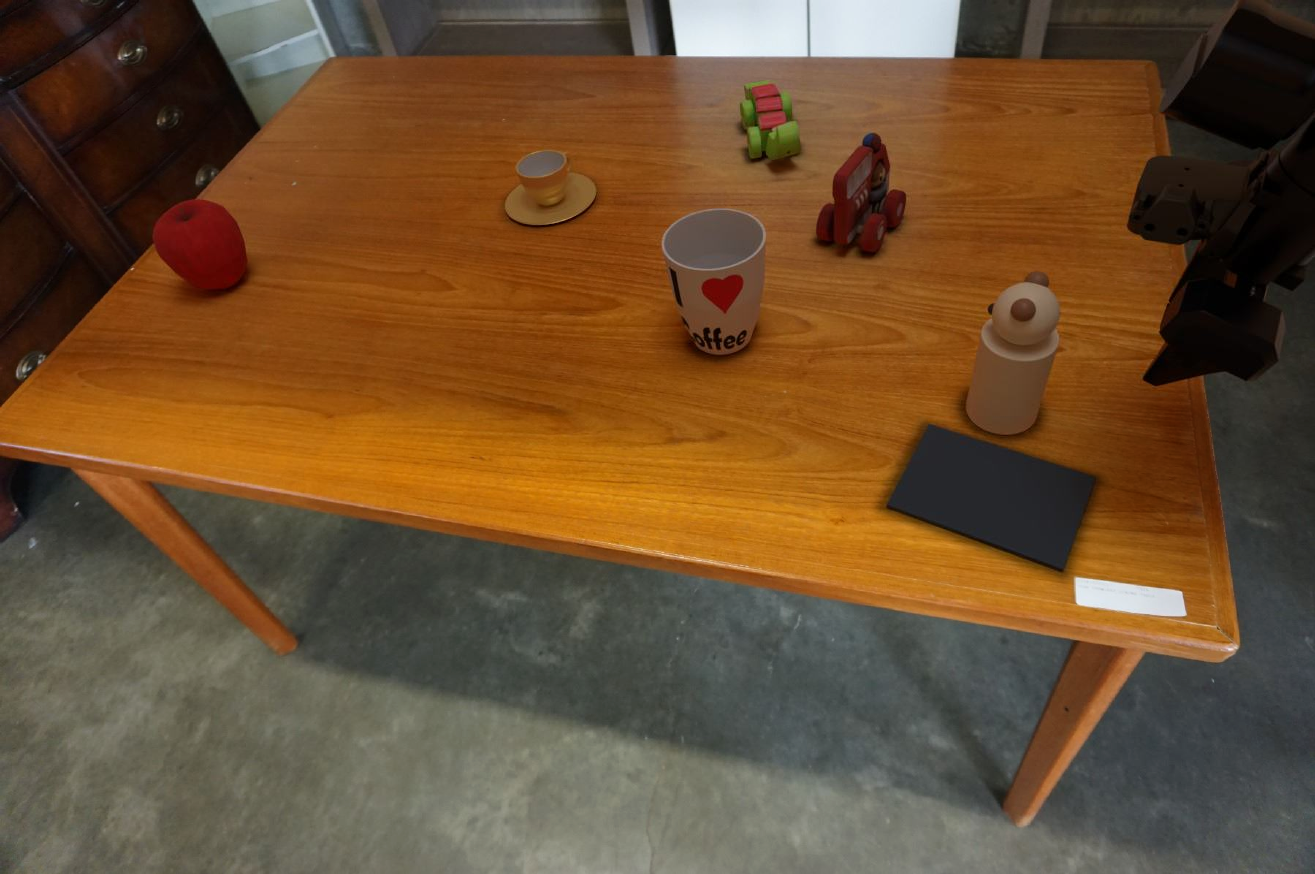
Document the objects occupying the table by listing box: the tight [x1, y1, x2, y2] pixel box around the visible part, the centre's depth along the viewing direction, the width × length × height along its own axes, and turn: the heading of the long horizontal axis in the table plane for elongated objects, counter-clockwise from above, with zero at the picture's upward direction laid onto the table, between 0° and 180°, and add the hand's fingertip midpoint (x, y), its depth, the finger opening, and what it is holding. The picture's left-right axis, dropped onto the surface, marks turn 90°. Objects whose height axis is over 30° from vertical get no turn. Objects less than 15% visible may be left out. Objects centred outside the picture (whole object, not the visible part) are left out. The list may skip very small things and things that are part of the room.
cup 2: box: [661, 208, 767, 356], centre depth 82 cm, size 10×10×12 cm
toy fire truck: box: [815, 132, 907, 253], centre depth 91 cm, size 7×12×10 cm, turn 146°
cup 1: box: [504, 149, 597, 226], centre depth 106 cm, size 12×12×5 cm
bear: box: [965, 270, 1061, 436], centre depth 70 cm, size 6×6×14 cm
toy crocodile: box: [739, 79, 802, 161], centre depth 109 cm, size 20×7×6 cm, turn 3°
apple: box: [151, 198, 248, 290], centre depth 102 cm, size 10×10×11 cm
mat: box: [886, 423, 1097, 573], centre depth 69 cm, size 14×10×1 cm
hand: (1162, 341), depth 62 cm, fingers open, 9 cm apart
